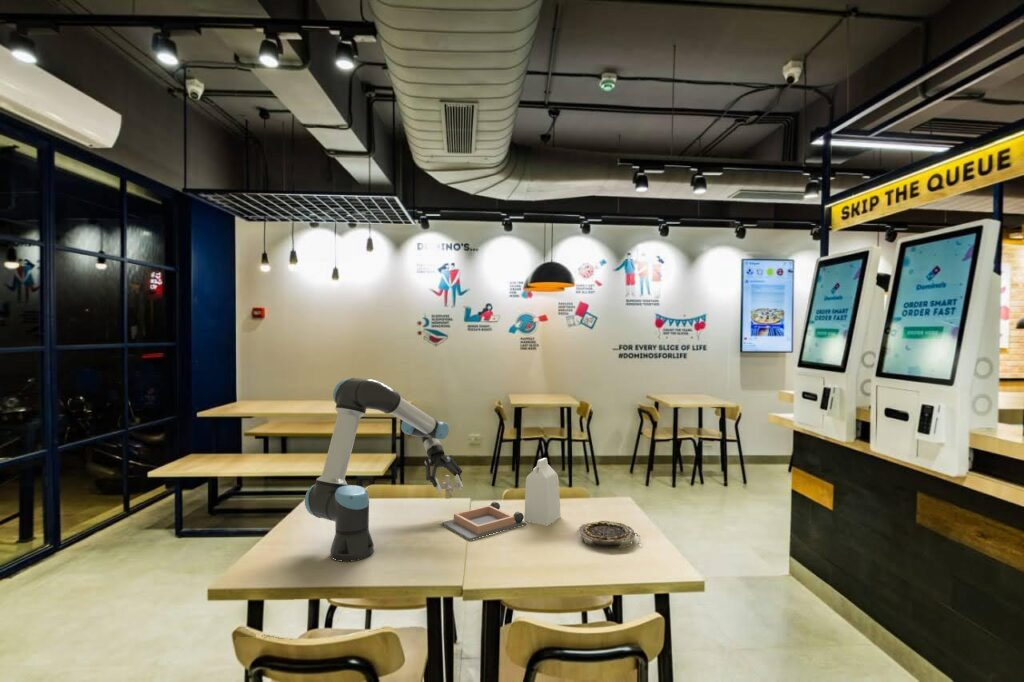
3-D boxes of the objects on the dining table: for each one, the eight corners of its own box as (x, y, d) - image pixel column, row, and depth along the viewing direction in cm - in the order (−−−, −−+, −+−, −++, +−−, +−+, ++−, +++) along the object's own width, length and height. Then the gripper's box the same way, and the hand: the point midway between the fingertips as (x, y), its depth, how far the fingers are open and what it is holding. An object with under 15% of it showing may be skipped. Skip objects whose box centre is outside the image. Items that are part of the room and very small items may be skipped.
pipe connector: (433, 496, 227) (433, 474, 227) (454, 493, 231) (454, 471, 231) (439, 502, 218) (440, 479, 218) (461, 499, 222) (461, 476, 222)
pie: (643, 558, 180) (643, 544, 180) (567, 553, 186) (567, 539, 186) (640, 529, 207) (640, 517, 207) (573, 526, 213) (573, 514, 213)
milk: (548, 526, 211) (547, 463, 211) (524, 520, 217) (524, 460, 217) (560, 517, 221) (560, 458, 221) (537, 512, 227) (537, 455, 227)
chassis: (469, 541, 195) (469, 528, 195) (441, 524, 213) (441, 512, 213) (526, 524, 212) (526, 512, 212) (495, 510, 230) (495, 499, 230)
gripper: (452, 450, 244) (469, 490, 231) (409, 456, 230) (424, 499, 218) (457, 441, 240) (475, 481, 227) (414, 446, 226) (430, 490, 213)
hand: (450, 490), depth 222 cm, fingers closed on pipe connector, 10 cm apart
